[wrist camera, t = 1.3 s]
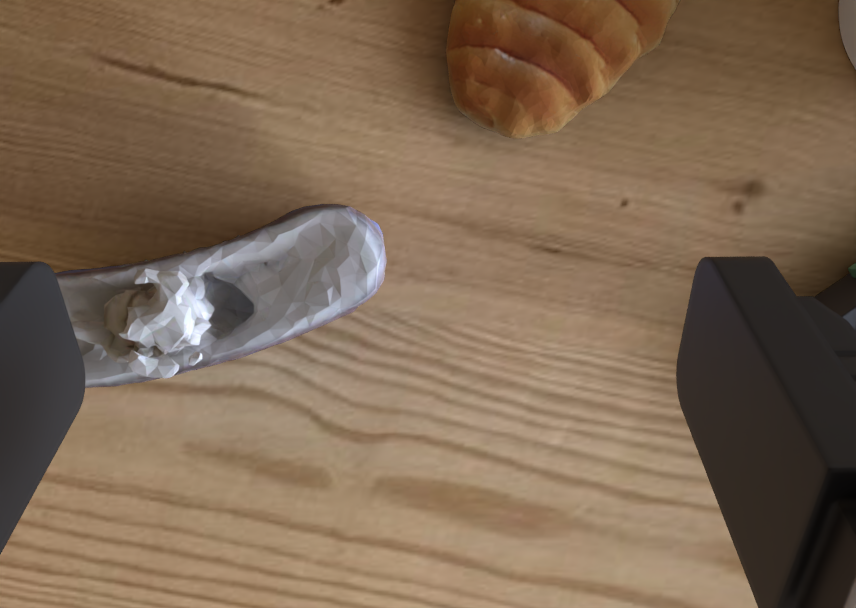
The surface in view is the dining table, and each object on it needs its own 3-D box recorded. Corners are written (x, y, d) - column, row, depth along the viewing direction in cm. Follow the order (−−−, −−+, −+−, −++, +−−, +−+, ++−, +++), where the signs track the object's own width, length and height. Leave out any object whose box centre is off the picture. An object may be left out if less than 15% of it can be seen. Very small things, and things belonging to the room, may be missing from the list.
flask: (364, 204, 25) (377, 185, 15) (386, 294, 26) (414, 341, 15) (69, 271, 24) (-143, 304, 14) (95, 364, 25) (-92, 465, 14)
